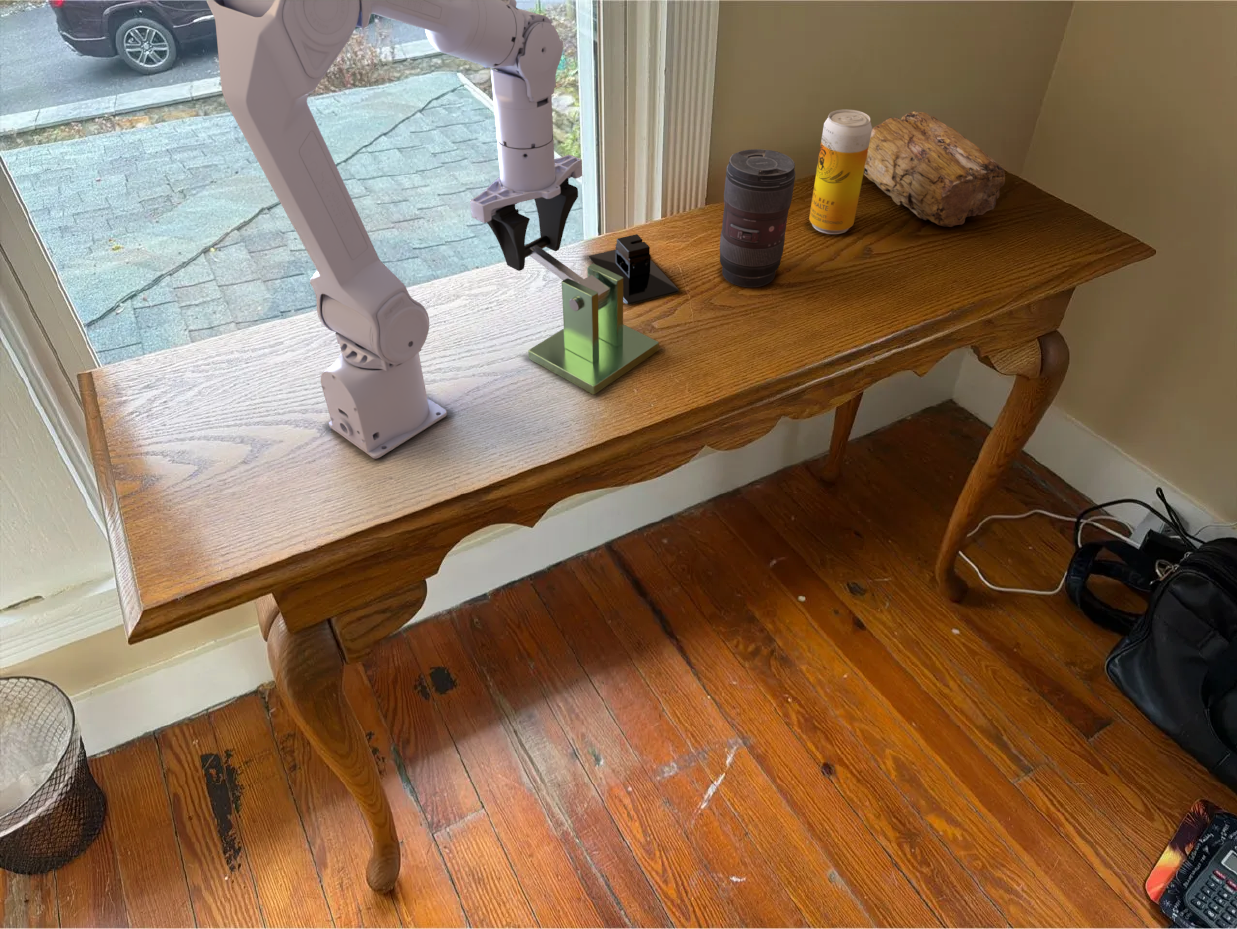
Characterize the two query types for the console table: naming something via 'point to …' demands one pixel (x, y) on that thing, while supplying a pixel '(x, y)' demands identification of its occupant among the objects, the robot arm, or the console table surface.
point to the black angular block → (635, 270)
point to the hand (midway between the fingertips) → (533, 257)
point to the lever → (565, 269)
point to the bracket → (593, 336)
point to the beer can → (840, 170)
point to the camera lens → (755, 215)
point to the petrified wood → (932, 169)
